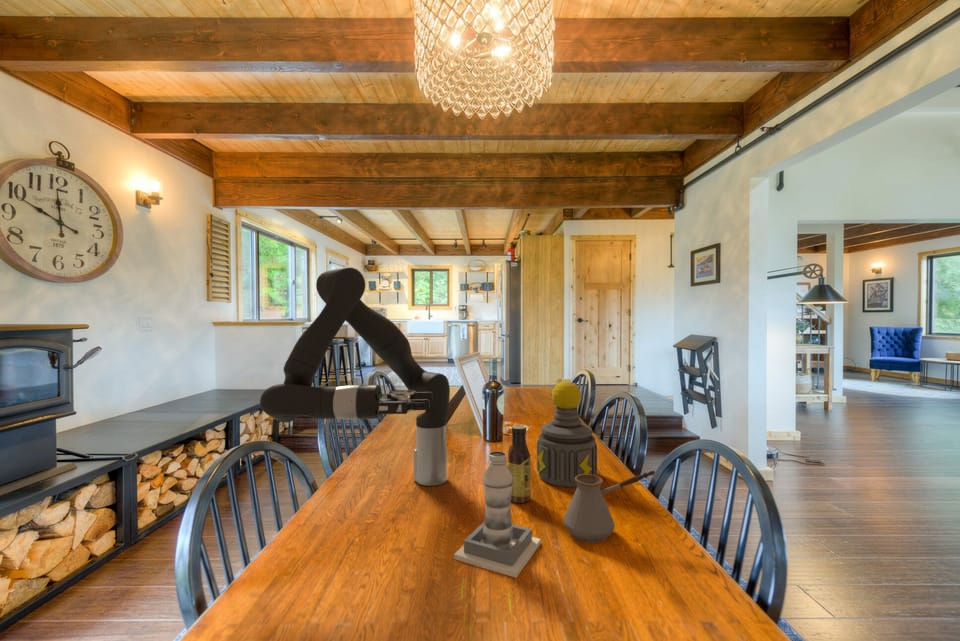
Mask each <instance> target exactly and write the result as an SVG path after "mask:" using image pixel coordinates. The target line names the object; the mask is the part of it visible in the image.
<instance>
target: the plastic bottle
mask: <svg viewBox="0 0 960 641" xmlns="http://www.w3.org/2000/svg"><path fill="white" fill-rule="evenodd" d="M488 463H489V465H488V467H487V468H486V470H485V471H484V473H483V476H482V484H483V491H484V503H485V504H484V505H485V510H484V511H485V512H484V521H483V522H484V526H483V533H482V536H483V542H484V543H485V544H488V545H492V546H495V547H499V548H503V549H507V548H508V547H509V546H510V545H511V543H512V541H513V527H512V525H513V523H512V514H511V513H512V512H511V511H512V510H511V508H512V507H511V506H512V505H511V503H512V501H511V494H512V487H513V475H512V473H511V471H510V470H509V468H508V465H507V464H508V458H507V453H506V452H504V451H500V450H497V451H490V452H489V454H488Z"/></svg>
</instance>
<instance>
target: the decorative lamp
mask: <svg viewBox="0 0 960 641" xmlns="http://www.w3.org/2000/svg"><path fill="white" fill-rule="evenodd" d="M551 399H552V401H553V404H554V406H555V409H554V411H555V412H554V414H553V417H554V418H553V419H552V421H550V422H547V423H545V424H543V425H542V426H541V428H540V429H541V433H540V434H539V435H538V439H537V442H536V470H537V472H538V476H539V478H541V480H543V481H544V482H545V483H547V484H550V485H553V486H556V485H557V486H556V487H561V488H562V487H564V488H577V487H578V486H577V482H576V481H575V477H576V476H577V475H580V474H591V475H596V476H597V475H598V445H597V442H596V438H595V437H594V435H593V429H592V427H591V426H589V425H587V424H585V423H582V422H581V420H580V414H579V413H578V412H579V411H578V410H579V409H578V407H579V405H580V403H581V401H582V392H581V390H580V388H579V387H578V386H577V385H576V383H573V382H572V381H567V380H566V381H561V382H559V383H557V384H556V385H555V386H554V387H553V388H552V392H551Z"/></svg>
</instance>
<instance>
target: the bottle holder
mask: <svg viewBox="0 0 960 641" xmlns="http://www.w3.org/2000/svg"><path fill="white" fill-rule="evenodd" d="M483 526H484V521H483V522H482V523H481V524H480V525H479V526H478V527H477V528H476V529H474V531H472V532H471V533H470V534H469V535H468V536H467V537H466V538H465V539H463V545H462V546H461V547H460V548H459V549H458V550H457V551H456V552H455V553H454V554H453V560H456V561H460V562H462V563H466V564H468V565H469V564H470V565H472V566H476V567H479V568H483V569H485V570H489V571H491V572H492V571H493V572H495V573H499V574H501V575H505V576H509V577H512V578H516V579H517V577H518V576H519V575H520V574H521V573H522V570H523V569H524V568H525V566H526V565H527V563H528V562H529V561H530V559H531V558H532V556H533V555H534V554H535V552H536V551H537V549H538V548H539V546H540V545H541V543H542V539H541V538H538V537H534V536H533V529H532V528H528V527H523V526H520V525H516V524H512V527H513V541H512V543H511V545H510V546H509V547H508V548H507V549H503V548H499V547H495V546H492V545H488V544H485V543H484V542H483V536H482V533H483Z"/></svg>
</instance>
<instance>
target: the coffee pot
mask: <svg viewBox="0 0 960 641" xmlns="http://www.w3.org/2000/svg"><path fill="white" fill-rule="evenodd" d="M653 475H654V477H655V479H656V480H659V477H658V475H657V473H656V471H655V470H651V471H649V472H643V474H639V475H633V477H630V478H628V479H626V480H623V481H621V482H620V483H616V484H614V485H612V486H609V487H607V488H603V489H601V486H602V484H603V483H604V480H603V478H602V477H601V476H599V475H597V474H596V475H591V474H580V475H577V476H576V477H575V481H576V482H577V486H578V487H576V490H575V492H574V494H573V496H572V498H571V500H570V503H569V505H568V507H567V510H566V512H565V514H564V516H563V523H564V525H565V527H566V529H567V531H568V532H569V533H571V535H572V536H573V537H574V538H575V539H577V540H579V541H581V542H584V543H592V544H594V543H595V544H596V543H600V542H603V541H605V539H607V538H608V537H610V535H611V534H613V532H614V530H615V527H616V525H615V521H614V518H613V516H612V514H611V511H610V509H609V507H608V504H607V502H606V499H605V498H604V495H605V494H607V493H610V492H612V491H614V490H616V489H618V488H622V487H625V486H629V485H632V484H635V483H637V482H639V481H641V480H643V479H648V477H649V476H653Z"/></svg>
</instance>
